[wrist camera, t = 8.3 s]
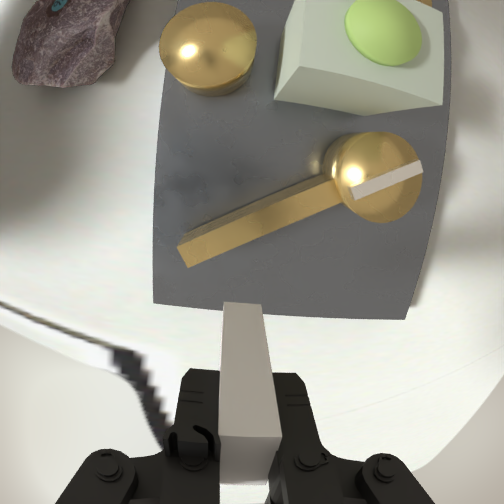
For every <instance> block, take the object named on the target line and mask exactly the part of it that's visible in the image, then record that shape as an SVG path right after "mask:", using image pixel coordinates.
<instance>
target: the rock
mask: <svg viewBox="0 0 504 504" xmlns="http://www.w3.org/2000/svg"><path fill="white" fill-rule="evenodd" d="M129 2H130V0H38V1H37V2H36V3H35V4H34V5H33V6H32V8H31V9H30V10H29V12H28V13H27V15H26V16H25V18H24V19H23V22H22V26H21V30H20V34H19V37H18V40H17V44H16V48H15V52H14V55H13V62H12V72H13V76H14V78H15V79H16V80H17V81H18V82H19V83H20V84H24V85H39V86H43V85H46V86H55V87H61V88H66V87H73V86H80V85H89V84H93V83H95V82H96V80H97V79H98V78H99V77H100V76H101V75H102V74H103V73H104V72H105V71H106V70H108V69H109V68H110V67H111V66H112V65H113V64H114V62H115V37H116V34H117V32H118V29H119V26H120V23H121V20H122V17H123V14H124V11H125V9H126V6H127V4H128V3H129Z"/></svg>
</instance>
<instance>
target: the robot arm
mask: <svg viewBox="0 0 504 504" xmlns="http://www.w3.org/2000/svg"><path fill="white" fill-rule="evenodd" d="M163 444H164V450H163V451H161V452H159V453H157V454H155V455H151V456H145V457H135V458H129V457H128V456H127V455H125V454H124V453H122V452H121V451H117V450H113V449H101V450H98V451H95V452H93V453H91V454H90V455H89V456H88V457H87V458H86V459H85V461H84V462H83V464H82V465H81V467H80V468H79V470H78V471H77V472H76V474H75V475H74V477H73V478H72V480H71V481H70V483H69V484H68V486H67V487H66V489H65V490H64V491H63V493H62V494H61V496H60V498H59V499H58V500H57V502H56V503H55V504H220V484H226V485H266V484H267V481H269V490H270V491H269V494H268V496H267V499H266V501H265V504H435V503H434V502H433V501H432V499H431V498H430V497H429V495H428V494H427V493H426V491H425V490H424V489H423V487H422V486H421V485H420V484H419V482H418V481H417V480H416V478H415V477H414V476H413V474H412V473H411V472H410V471H409V469H408V468H407V467H406V465H405V464H404V463H403V462H402V461H401V460H400V459H399V458H398V457H396V456H393V455H391V454H385V453H380V454H375V455H372V456H371V457H369V458H368V459H367V460H366V461H365V462H361V461H353V460H347V459H342V458H338V457H336V456H334V455H332V454H330V452H329V451H328V450H327V449H325V448H324V447H323V446H322V444H321V441H320V439H319V435H318V431H317V427H316V423H315V420H314V416H313V412H312V409H311V406H310V401H309V397H308V394H307V390H306V386H305V383H304V382H303V381H302V379H301V378H300V377H299V376H298V375H297V374H296V373H272V369H271V363H270V357H269V351H268V344H267V338H266V332H265V326H264V319H263V313H262V307H261V304H248V303H234V302H224V307H223V319H222V333H221V346H220V363H219V371H216V370H204V369H193V368H190V369H189V370H188V371H187V373H186V374H185V375H184V376H183V377H182V381H181V386H180V392H179V398H178V403H177V409H176V415H175V421H174V425H172V426H171V427H170V428H169V429H167V430H166V432H165V434H164V436H163Z"/></svg>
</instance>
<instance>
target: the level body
mask: <svg viewBox="0 0 504 504" xmlns="http://www.w3.org/2000/svg"><path fill="white" fill-rule="evenodd" d="M443 84H444V30H443V13H442V12H440V11H438V10H436V9H434V8H432V7H430V6H428V5H425V4H423V3H421V2H418V1H416V0H295V1H294V4H293V6H292V9H291V11H290V14H289V16H288V19H287V21H286V24H285V27H284V29H283V32H282V34H281V41H280V50H279V58H278V67H277V76H276V85H275V93H274V100H279V101H286V102H293V103H299V104H305V105H311V106H317V107H322V108H328V109H333V110H338V111H343V112H347V113H352V114H356V115H361V116H369V115H374V114H380V113H387V112H393V111H400V110H407V109H414V108H422V107H431V106H440V105H442V103H443Z"/></svg>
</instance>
